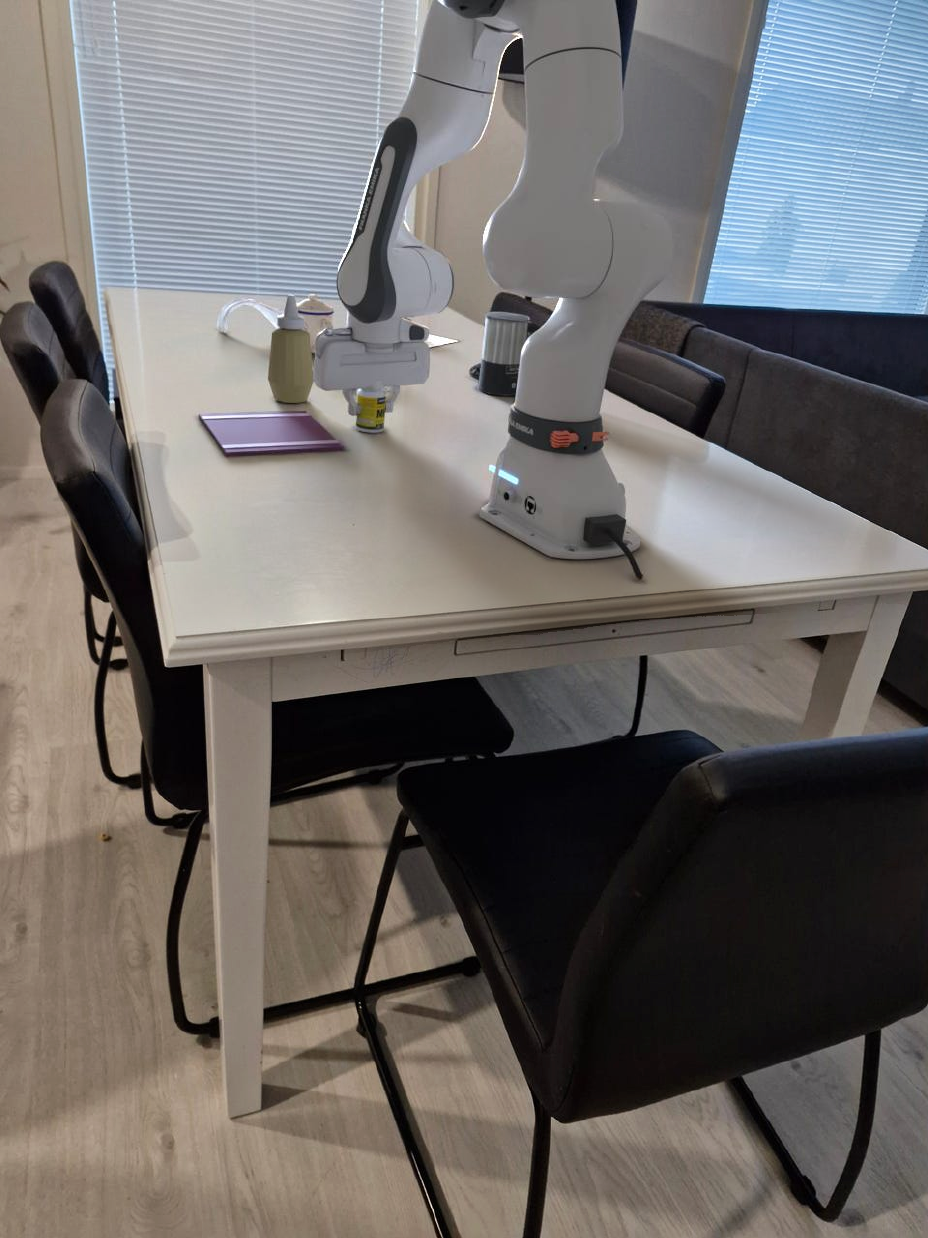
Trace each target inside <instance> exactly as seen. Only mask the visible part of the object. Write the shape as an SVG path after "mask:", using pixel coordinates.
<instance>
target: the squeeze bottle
mask: <svg viewBox="0 0 928 1238" xmlns="http://www.w3.org/2000/svg"><path fill="white" fill-rule="evenodd" d="M296 303H297V300H296V295H295V294H292V293H287V296H286V301H285V305H284V309H283V310H284V315H279V316H278V317H277V326H279V327H278V328H276V327H275V328H274V329H272V331H271V339H270V340H271V341H270V352H269V363H268V374H267V381H268V384H269V386H270V389H271V392H272V396H273V398H274V400H275V401H278V402H281V403H287V404H300V403H305V402H307V401H308V399H309V396H310V393H311V391H312V390H311V389H312V387H313V384H314V381H313V368H314V365H313V356H312V354H313V353H311V342H310V333H309V332H308V331H306V330H305V329H303V328H304V327H305V318H304V317H301V316H299V315H298V310H297V305H296Z"/></svg>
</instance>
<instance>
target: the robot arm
mask: <svg viewBox="0 0 928 1238" xmlns="http://www.w3.org/2000/svg"><path fill="white" fill-rule="evenodd" d="M618 16H619V15H618V10H617V3H616V0H430V3H429V6H428V8H427V12H426V15H425V18H424V21H423V25H422V27H421V32H420V35H419V40H418V44H417V48H416V52H415V57H414V62H413V68H412V74H411V78H410V83H409V87H408V90H407V93H406V95H405V99H404V101H403V104H402V105H401V109H400V110H399V111H398V114H397V115H396V117H395V118H394V120H393V121H391V122H390V123H389V124H388V125H387V126H386V127H385V129H384V131H383V133H382V135H381V137H380V140H379V143H378V145H377V149H376V151H375V155H374V158H373V162H372V164H371V167H370V171H369V175H368V178H367V182H366V186H365V189H364V193H363V196H362V201H361V204H360V207H359V208H360V209H359V211H358V214H357V219H356V222H355V224H354V226H353V230H352V234H351V239H350V242H349V244H348V246H347V248H346V251H345V253H344V254H343V257H342V259H341V261H340V263H339V266H338V270H337V274H336V291H337V295H338V297H339V301H341V303H342V305H343V306H344V308H345V309H346V312H347V313H346V327H339V328H333V329H332V328H327V329H324V331H323V332H321V333H320V334H319V335H318V336H317V337H316V340H315V352H316V353H314V354H315V355H314V361H313V384H315V386H316V387H317V388H319V389H321V390H323V391H326V392H329V391H342V392H341V393H342V395H343V397H344V399H345V401H346V402H347V413H348V415H350V416H352V417H356V415H361V411H360V410H361V405H360V404H358V403H357V400H356V399H355V397H354V396H357V390H359V389H360V388H371V387H372V386H373V385H374V382H380V381H381V382H382V384H383V387H384V388H386V390H388V391H387V394H386V401H385V414H389V413H393V411H394V403H395V401H396V399H397V398H398V396H399V394H400V393H401V387H402V386H412V385H413V386H414V385H424V384H425V383H426V382H427V381H428V379H429V378H430V369H431V350H430V347H429V346H428V344H427V343H426V342H425V341H426V340H428V338H429V335H430V328H429V327H427V326H425V325H423V324H422V323H418V322H416V321H413V320H412V319H410V318H415V317H426V316H427V317H428V316H432V315H435V314H440V313H441V312H443V311H444V310H446V308H447V307H448V305H449V304H450V302H451V300H452V297H453V294H454V289H455V276H454V271H453V267H452V264H451V262H450V261H449V259H448V258H447V256H446V255H445V254H444V253H443V252H441V251H440V250H438V249H437V250H436V249H434V248H433V247H431V246H429V245H427V244H426V243H424V242H422V240H420V239H419V238H417V237H416V236H415V235H414V233H412V232H411V231H410V229H409V227H408V225H407V222H406V221H405V220H403V218H404V214H405V210H406V207H407V205H408V200H409V197H410V195H411V193H412V191H413V190H414V188H415V186H416V185H417V184H418V183H419V181H420V180H421V179H423V178H424V177H425V176H427V175H428V174H429V173H431V172H432V171H434V170H435V169H438V168H439V167H441V166H444V165H445V164H448V163H450V162H453V161H456V160H457V159H460V158H462V157H464V156H465V155H466V154H468V153H469V152H470V151H471V150H473V149H474V148H475V147H476V146H477V145H478V144H479V142H480V141H481V140H482V137H483V135H484V133H485V131H486V128H487V126H488V123H489V120H490V116H491V112H492V109H493V102H494V98H495V93H496V88H497V83H498V78H499V73H500V72H499V71H500V66H501V62H502V58H503V55H504V53H505V50H506V49H507V47H508V46H509V45H510V44H511V43H512V42H514V41H515V40H517V39H520V38H521V39H522V50H523V51H522V53H523V77H524V78H523V80H524V98H525V99H524V100H525V147H524V148H525V149H524V154H523V160H522V164H521V169H520V172H519V174H518V177H517V179H516V183H515V185H514V187H513V188H512V190H511V192H510V193H509V194H508V196H507V197H506V198H505V200H504V201H502V202H501V204H500V205H498V206H497V207H496V208H495V210H494V211H493V212H492V214H491V216H490V218H489V220H488V222H487V224H486V226H485V229H484V234H483V239H482V258H483V262H484V266H485V269H486V272H487V273H488V275H489V278H491V280H492V282H493V283H494V285H496V286H497V287H498V288H499V289H501V290H504V291H507V292H510V293H513V294H517V295H520V296H524V297H528V298H533V299H559V300H558V302H557V304H556V307H555V309H554V311H553V312H552V314H551V315H550V316H549V318H548V320H547V321H546V322H545V323H544V324H543V325H542V326H540V329H538V330H537V331H536V332H534V333H533V334H532V335H531V336H530V337H529V336H528V337H527V338H526V342H525V344H524V346H523V348H522V351H521V359H520V367H519V375H518V383H517V391H516V395H515V400H514V403H512V404H511V407H510V412H509V414H508V420H507V421H508V425H507V433H508V434H509V438H508V439H507V442H506V443H505V445H504V447H503V448H502V450H501V451H500V452H499V454H498V456H497V459H496V463H495V465H493V464H489V467H488V470H489V471H491V472H492V473H493V478H492V483H491V487H490V493H489V496H488V497H489V498H488V501H487V502H488V503H487V504H485V505H483V506H481V508H480V511H479V517H480V518H481V519H483V520H484V521H486V522H488V523H489V524H492V525H493V526H495V527H497V528H499V529H501V530H502V531H503V532H505V533H507V534H509V535H511V536H512V537H514V538H515V539H517V540H520V542H523V543H525V544H526V545H528V546H530V547H532V548H533V549H535V550H537V551H539V552H540V553H541V554H543V555H545V556H548V557H550V558H556V559H563V560H595V559H604V558H612V557H617V556H623V555H625V556H626V558H627V560H628V562H629V564H630V566H631V568H632V570H633V572H634V575H635V578H637V580H643V578H644V574H643V573H642V571H641V569H640V567H639V564H638V562H637V559H636V558H635V556H634V555H633V552H635V551H636V550H638V549H639V548H640V546H641V545H640V544H641V539H640V538H639V537H638V535H636V534H635V533H634V532H633V531H632V530H631V528H629V527H628V526H627V525H626V524H627V519H626V514H627V499H626V487H625V485H624V484H623V483H622V482H618V480H617V477H616V476H615V474H614V472H613V470H612V467H611V466H610V463H609V461H608V460H607V458H606V456H605V454H604V451H603V447H604V445H605V444H604V442H605V441H609V438H607V437H606V438H605V437H604V436H608V435H610V431H604V426H603V417H602V415H601V407H602V403H603V398H604V392H605V387H606V383H607V382H606V381H607V377H608V373H609V368H610V364H611V360H612V357H613V353H614V351H615V348H616V346H617V343H618V341H619V338H620V337H621V335H622V332H623V331H624V329H625V327H626V325H627V323H628V321H629V320H630V318H631V316H632V314H633V313H634V312H635V309H636V308H637V307H638V306H639V305H640V303H641V302H642V301H643V299H644V298H645V297H646V296H647V295H649V293H650V292H651V291H653V290H654V289H656V288H657V287H658V286H659V285H660V284H661V283H662V281H663V280H664V279H665V278H666V276H667V274H668V272H669V270H670V267H671V266H672V265H671V264H672V261H673V256H674V239H673V233H672V230H671V227H670V224H669V223H668V222H667V220H666V219H665V217H663V216H662V215H661V214H659V213H658V212H655V211H653V210H651V209H649V208H646V207H644V206H641V205H638V204H636V203H633V202H629V201H621V200H620V201H619V200H608V199H607V200H606V199H595V198H594V194H593V193H594V192H593V188H594V187H593V186H594V179H595V174H596V170H597V167H598V164H599V163H600V162H602V161H603V160H604V159H606V158H607V157H608V156H609V155H611V154H612V153H613V151H615V149H616V148H617V146H618V145H619V143H620V142H621V139H622V137H623V134H624V128H625V126H624V123H625V122H624V120H625V119H624V95H623V66H622V65H623V63H622V47H621V44H622V43H621V33H620V24H619V17H618ZM323 334H324V335H325V336H321V335H323Z"/></svg>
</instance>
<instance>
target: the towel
mask: <svg viewBox="0 0 928 1238" xmlns="http://www.w3.org/2000/svg"><path fill="white" fill-rule="evenodd" d="M198 418H199V420H200V421H201V422H202V424H203V425H204V426H205V428H206V429H207V431H208V432H209V433H210V435H211V436H212V438H213V439H214V440H215V442H216V443H217V445H218V446H219V448H220V449H221V451H222V452H223V453H224V455H225V456H226V457H238V456H258V455H259V456H260V455H279V454H280V455H281V454H297V453H317V452H318V453H319V452H320V453H321V452H336V451H337V452H339V451H344V450H345V446H344V445H343V444H342V443H341V442H340V440H338V439H336V438H335V436H333V435H332V434H331V433H330V432H329V431H328V429H326V428H325V427H324V426H323V425H322V424H320V422H319V421H318V420H316V419H315V418H314V417H313V416H312V414H311V413H310V412H308V411H307V410H279V411H278V410H277V411H249V412H247V411H245V412H217V413H216V412H214V413H198Z"/></svg>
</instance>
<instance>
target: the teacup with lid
mask: <svg viewBox="0 0 928 1238" xmlns="http://www.w3.org/2000/svg"><path fill="white" fill-rule="evenodd" d="M296 305H297V310H298V315H299V316H301V317H304V318H305V327H304V328H303V329H305V330H306V331H308V332H309V333H310V342H311V354H316V352H315V340H316V337H317V336H318V335H319V334H320V333H321V332H323V331H324V329H327V328H332V329H334V326H333V322H334V321H333V319H334V317H333V315H334V313H335V311H334V307H332V306H330V305H328V304H326V303H324V301H322V300H321V299H319V296H318V295H317V294H314V293H310V294H308V297H307V298H306V299H303V300H302V301H300V302H296ZM321 336H325V335H324V334H323V335H321Z"/></svg>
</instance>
